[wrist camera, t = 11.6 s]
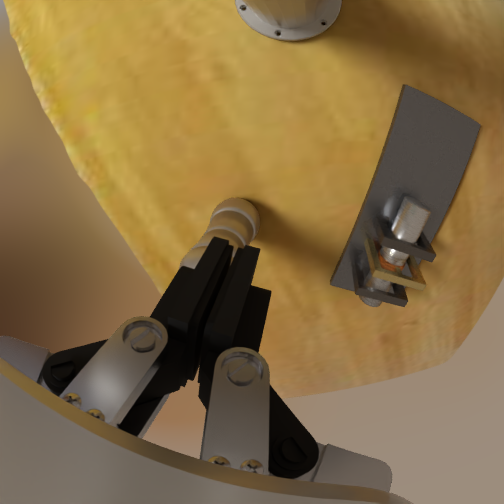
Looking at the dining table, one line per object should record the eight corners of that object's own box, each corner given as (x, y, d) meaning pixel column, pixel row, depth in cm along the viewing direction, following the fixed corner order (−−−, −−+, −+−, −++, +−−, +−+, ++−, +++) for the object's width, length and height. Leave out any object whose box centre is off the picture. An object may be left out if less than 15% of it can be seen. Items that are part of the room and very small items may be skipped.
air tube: (399, 192, 34) (408, 205, 31) (426, 202, 34) (436, 216, 30) (356, 285, 43) (358, 303, 40) (380, 291, 43) (384, 310, 40)
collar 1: (375, 215, 37) (384, 237, 32) (423, 232, 37) (436, 255, 32) (372, 223, 38) (380, 245, 33) (419, 239, 37) (432, 262, 32)
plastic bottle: (220, 187, 40) (156, 273, 24) (267, 200, 40) (232, 297, 24) (214, 226, 44) (157, 322, 28) (257, 238, 44) (222, 344, 27)
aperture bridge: (366, 237, 39) (375, 270, 33) (412, 252, 39) (426, 285, 32) (364, 243, 39) (372, 276, 33) (409, 258, 39) (422, 291, 33)
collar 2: (354, 262, 41) (358, 287, 37) (400, 275, 41) (408, 301, 36) (351, 268, 42) (355, 294, 37) (396, 281, 42) (404, 307, 37)
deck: (402, 84, 28) (405, 84, 27) (476, 123, 27) (480, 124, 26) (330, 280, 45) (330, 285, 44) (394, 297, 45) (395, 302, 44)
